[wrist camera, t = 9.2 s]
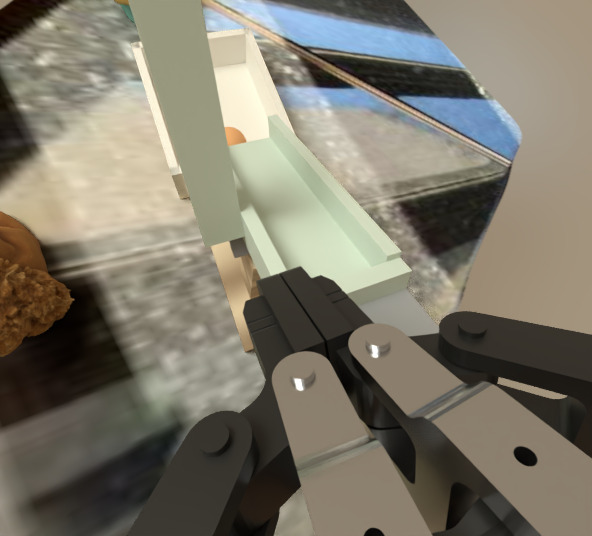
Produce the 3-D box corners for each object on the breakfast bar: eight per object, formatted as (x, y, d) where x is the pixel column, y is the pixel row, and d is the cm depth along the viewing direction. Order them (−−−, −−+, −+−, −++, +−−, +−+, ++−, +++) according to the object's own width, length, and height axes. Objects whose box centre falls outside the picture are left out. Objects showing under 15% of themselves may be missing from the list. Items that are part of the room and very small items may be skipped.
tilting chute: (450, 383, 17) (722, 1, 6) (275, 463, 15) (164, 92, 4) (288, 169, 32) (276, -56, 21) (187, 193, 30) (112, -46, 18)
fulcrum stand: (339, 317, 34) (381, 293, 24) (245, 352, 32) (245, 342, 21) (298, 215, 37) (319, 153, 26) (208, 239, 34) (193, 182, 24)
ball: (211, 168, 35) (204, 136, 33) (221, 151, 38) (214, 120, 35) (244, 170, 35) (239, 137, 32) (252, 153, 37) (248, 121, 35)
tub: (294, 171, 38) (300, 146, 34) (180, 199, 35) (171, 175, 31) (249, 62, 42) (249, 27, 38) (143, 78, 39) (130, 42, 35)
